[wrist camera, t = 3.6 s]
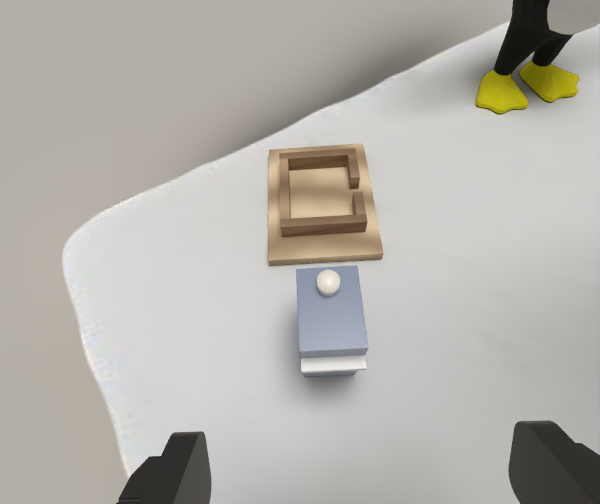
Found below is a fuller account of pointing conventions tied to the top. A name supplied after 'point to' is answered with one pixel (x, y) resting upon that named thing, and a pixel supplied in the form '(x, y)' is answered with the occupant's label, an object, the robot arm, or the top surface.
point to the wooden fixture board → (321, 206)
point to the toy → (536, 52)
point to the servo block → (330, 321)
